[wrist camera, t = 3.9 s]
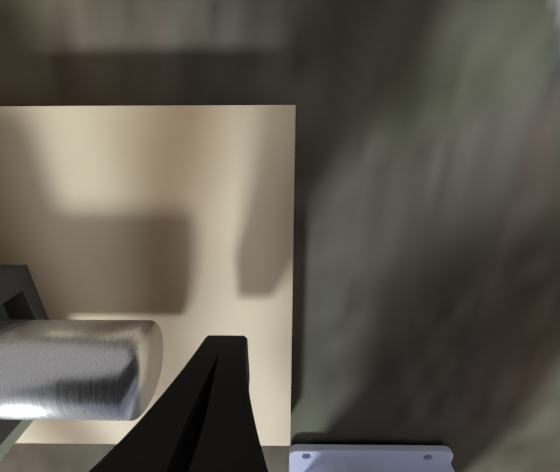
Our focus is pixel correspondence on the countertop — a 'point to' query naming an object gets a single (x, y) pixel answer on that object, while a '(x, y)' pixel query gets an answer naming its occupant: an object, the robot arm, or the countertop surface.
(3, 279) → the collar block
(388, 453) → the robot arm
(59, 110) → the maple board
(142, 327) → the steel peg
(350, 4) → the countertop surface
